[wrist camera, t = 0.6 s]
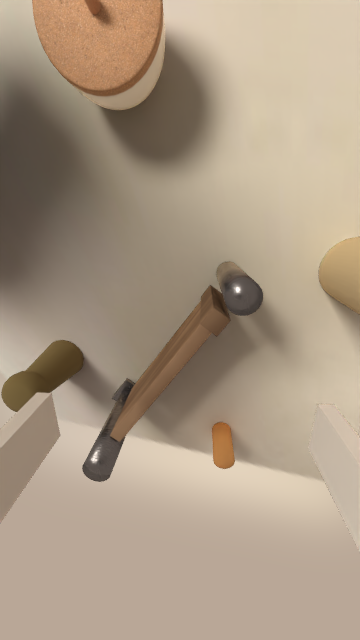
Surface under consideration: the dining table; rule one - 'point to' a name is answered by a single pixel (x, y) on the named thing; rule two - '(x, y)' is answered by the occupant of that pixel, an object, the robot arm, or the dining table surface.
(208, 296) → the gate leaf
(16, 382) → the cork
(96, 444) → the gate frame
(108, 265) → the dining table surface
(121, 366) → the dining table surface
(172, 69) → the dining table surface
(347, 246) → the coffee cup
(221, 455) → the post
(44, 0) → the lidded jar
